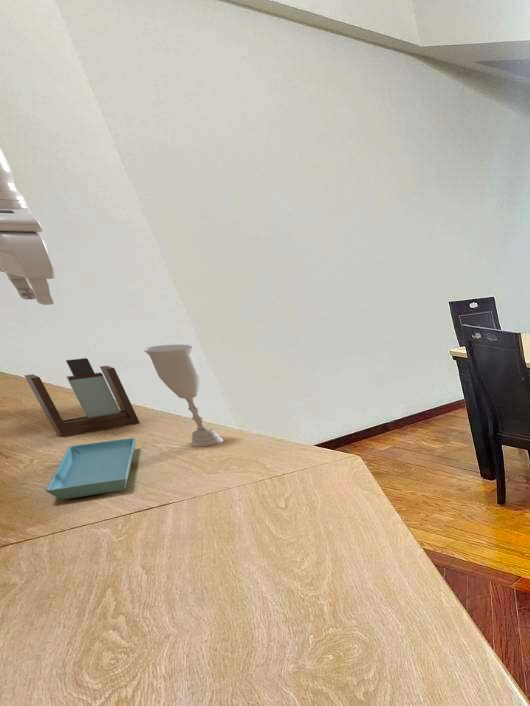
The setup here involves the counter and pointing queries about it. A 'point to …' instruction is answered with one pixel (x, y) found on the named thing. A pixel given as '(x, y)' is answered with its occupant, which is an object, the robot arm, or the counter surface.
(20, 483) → the counter surface
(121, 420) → the window frame
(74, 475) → the shallow long dish
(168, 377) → the chalice
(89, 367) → the window pane
